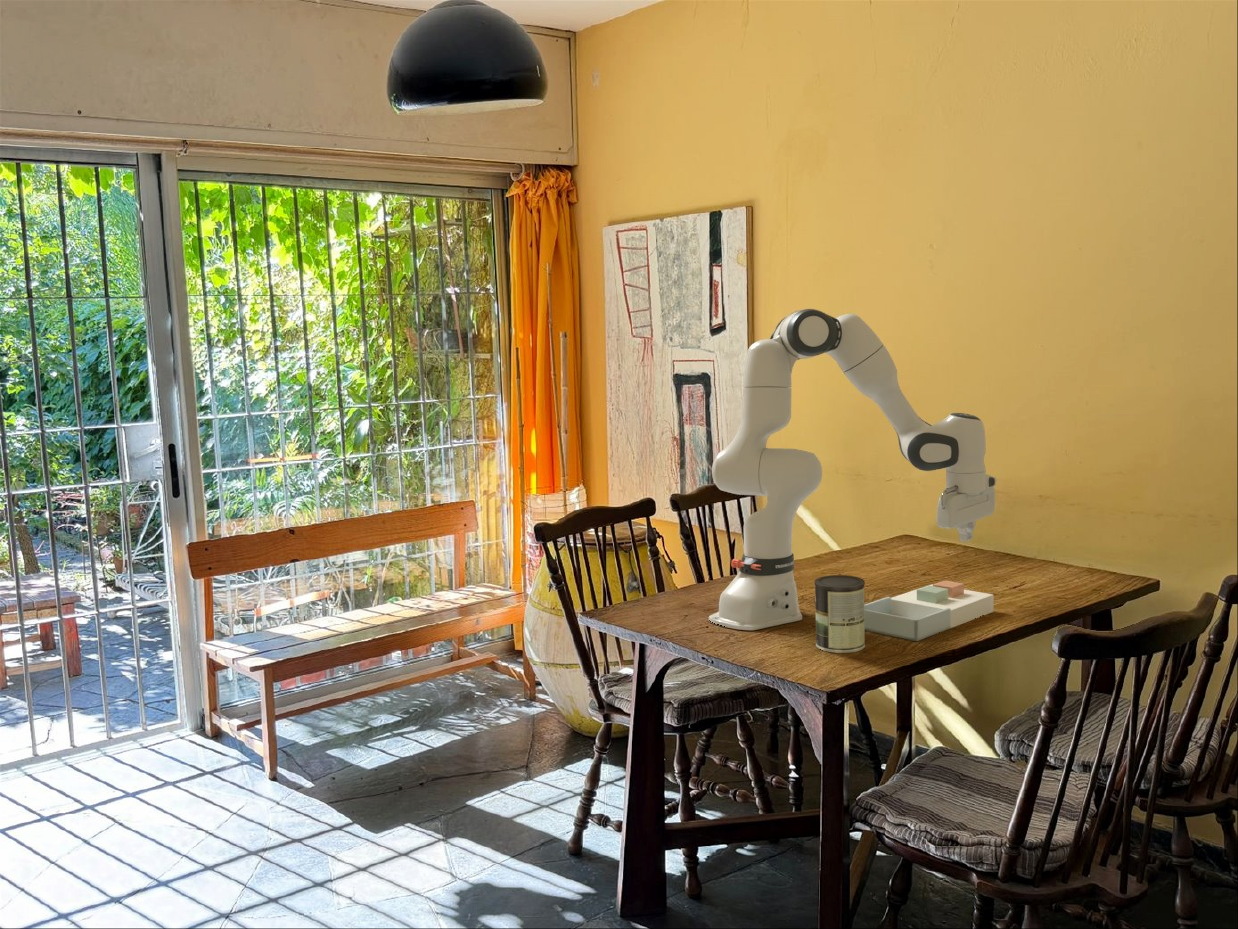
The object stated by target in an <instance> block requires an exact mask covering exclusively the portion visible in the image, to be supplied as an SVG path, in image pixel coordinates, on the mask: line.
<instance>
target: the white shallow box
mask: <svg viewBox="0 0 1238 929" xmlns="http://www.w3.org/2000/svg"><path fill="white" fill-rule="evenodd" d="M933 584H934V583H933ZM933 584H929V585H925V586H923V587H926V586H933ZM923 587H920V588H923ZM920 588H917V589H920ZM917 589H913V590H910V591H908V592H905V593H902V594H898V595H896V596H895V595H894V596H893V597H891V614H893V615H898V616H903V617H908V618H913V619H919V618H921V617H924V616H927V615H930V614H932V613H935V612H938V611H941V610H943V609H946V608H950V629H952V628H955V627H958V626H960V625H962V624H965V623H967V622H971V621H973V620H976V619H979V618H980V616H981V617H983V616H982V615H984V616H986V615H989V614H991V613H994V610H995V609H994V607H995V606H994V602H995V601H994V597H995V595H994V594H992V593H986V592H981V591H974V590H968V589H964V594H962V595H959V596H956V597H953V598H949V597H948V600H945V601H942V602H939V603H937V604H935V603H930V602H924V601H919V600H917ZM975 618H976V619H975Z"/></svg>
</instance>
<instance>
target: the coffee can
mask: <svg viewBox="0 0 1238 929" xmlns="http://www.w3.org/2000/svg"><path fill="white" fill-rule="evenodd" d="M865 581H866V580H864V579H863V578H861V577H859V576H854V575H846V574H845V575H842V574H838V575H837V574H833V575H824V576H820V577H818V578H816V579H814V581H813V582H814V594H815V596H814V599H815V600H814V604H815V647H816V648H817V649H818V650H820V649H821V650H820V651H822V650H823V652H826V651H827V652H828V653H833V654H850V653H856V652H859V651H863V649H865V647H866V645H865V630H864V605H865V584H866V582H865ZM827 652H826V653H827Z"/></svg>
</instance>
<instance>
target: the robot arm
mask: <svg viewBox="0 0 1238 929" xmlns="http://www.w3.org/2000/svg"><path fill="white" fill-rule="evenodd" d="M823 354H827V355H828V356H829V357H831V358H832V359H833V360H834V361H835V362H836V364H837V365H838V367H839V368H840V370H841V371H842V372H843V374H844V375H845V377H846V378H847V379H848V380H849V382H850V383H851V384H852V385H853V386H854V387H855V388H856V389H857V390H858V391H859V393H861V394H862V395H863V396H866V397H868V398H869V399H871V401H873V402H874V403H875V404H876V405H877V406H878V407H879V409H880V410H881V411H882V413H883V415H884V416H885V417H886V418H887V420H888V422H889V423H890V425H891V426H892V427H893V429H894V430H895V432H896V434H897V435H896V436H897V439H898V445H899V451H900V453H901V454H902V456H903V457H904V458H905V460H906V461H908V462H909V463H910V464H911V465H912V466H913V467H914V468H916V469H918V470H920V471H923V472H931V471H932V472H933V471H936V470H937V471H938V470H941V469H945V475H946V476H945V488H944V489H943V491H942V493H941V494H940V496H939V498H938V503H937V508H936V524H937V527H938V528H940V529H945V530H952V529H955V528H956V530H957V532H958V534H959V535H958V538H959V542H961V543H966V542H969V541H972V540H973V536H974V534H973V533H974V531H975V528H976V521H978V520H981V519H985V518H986V517H989V516H992V515H993V514H994V512H995V509H996V489H995V487H996V485H997V478H996V476H992V475H991V474H990V475H989V474H986V473H987V470H986V469H987V467H986V464H985V457H986V456H985V455H986V450H987V448H986V431H985V426H984V422H983V420H981V419H980V418H979V417H978V416H977V415H973V414H968V413H964V412H952V413H950V414H948V416H947V417H945V418H944V419H942V420H940V421H938V422H936V423H934V424H932V425H931V424H930V423H928V422H927V421H925V420H923V419H922V418H921V417H920V416H919V415H918V414H917V412H916V411H915V410H914V408H913V406H912V405H911V404H910V402H909V400H908V399H907V398H906V396H905V394H904V392H903V391H902V390H901V387H900V385H899V381H898V369H897V367H896V365H895V362H894V360H893V357H892V356H891V353H890V352H889V351H888V349H887V347H886V346H885V344H884V343H883V342H882V340H881V339H880V338H879V336H878V335H877V334H876V333H875V332H874V330H873V329H872V328H871V327H870V326H869V325H868V323H866V322H865V320H863V319H862V318H861V317H860V316H859V315H857V314H856V313H845V314H844V313H843V314H842V315H839V316H837V317H834V316H832V315H830V314H828V313H825V312H823V311H821V310H819V309H816V308H815V309H814V308H805V309H800V310H795V311H793V312H791V313H790V314H788V315H787V316H785V317H783V318H782V319H781V320H780V321H779V322H778V324H777V325H776V326H775V328H774V331H773V332H772V334H771V336H770V337H769V338H764V339H760V340H757V341H755V342H754V343H752V344H751V345H750V346H749V347H748V349H747V353H746V356H745V363H744V369H743V370H744V371H743V384H742V387H743V389H742V408H741V409H742V410H741V418H740V423H739V427H738V429H737V432H736V434H735V435H734V437H733V439H732V440H731V442H730V443H728V445H727V446H726V447H725V448H723V449H722V450H721V451H719V453H717V455H716V456H715V458H714V460H713V462H712V466H711V477H712V480H713V482H714V484H715V486H716V487H717V488H718V489H719V490H720V491H723V492H727V493H731V494H734V495H739V496H741V495H742V496H743V495H744V496H764V497H766V498H767V499H766V500H767V502H766V506H765V507H763V508H761V509H758V510H757V511H755V512H753V513H751V514H750V515H748V516H747V517H746V520H745V521H744V523H743V554H742V556H741V559H737V558H733V559H732V560H731V562H730V565H731V567H732V568H735V569H736V568H737V569H738V571H739V572H738V573H737V575H736V576H735V577H734V578H733V580H731V582H730V583H729V584H728V586H727V587H726V588H725V589H724V590H723V591H722V593H721V594H720V597H719V600H718V601H719V602H718V611H717V612H714V613H712V614H710V615H708V621H709V620H710V621H711V622H710V621H709V622H710V623H712V622H713V623H712V624H714V623H715V624H714V625H717V624H719V625H718V626H720V625H722V626H721V627H724V626H725V627H724V628H729V629H733V630H739V631H740V630H743V631H756V630H761V629H762V630H763V629H766V628H769V627H770V628H772V627H775V626H780V625H784V624H788V623H793V622H797V621H802V620H803V615H802V613H801V610H800V606H799V598H798V590H797V583H796V581H795V578H794V573H793V572H794V570H795V563H796V562H795V557H794V556H795V555H794V553H793V550H792V548H793V546H792V545H793V544H792V543H793V525H794V519H795V517H796V513H797V511H798V509H799V508H800V506H801V505H802V504H803V502H804V501H805V500H806V499H807V498H808V497H809V496H811V495H812V494H813V493H815V492H816V490H817V489H818V488H819V486H820V484H821V482H822V479H823V467H822V465H821V464H822V463H821V462H820V460H819V457H818V456H816V454H815V453H814V452H811V451H806V450H803V449H797V448H783V447H782V448H772V447H769V448H768V447H767V442H768V439H769V437H770V436H771V435H773V434H776V433H777V432H779V431H781V430H783V429H784V428H786V427H787V426H788V424H789V423H790V421H791V418H792V373H793V368H794V366H795V363H796V362H797V361H799V360H806V359H810V358H814V357H816V356H819V355H823Z"/></svg>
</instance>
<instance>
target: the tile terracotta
mask: <svg viewBox="0 0 1238 929" xmlns="http://www.w3.org/2000/svg"><path fill="white" fill-rule="evenodd" d="M933 586H934V587H940V588H946V589H948V597H949V598H953V597H956V596H959V595H962V594H964V590H965V583H962V582H956V581H951V580H941V581H939V582H936V583H933Z"/></svg>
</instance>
